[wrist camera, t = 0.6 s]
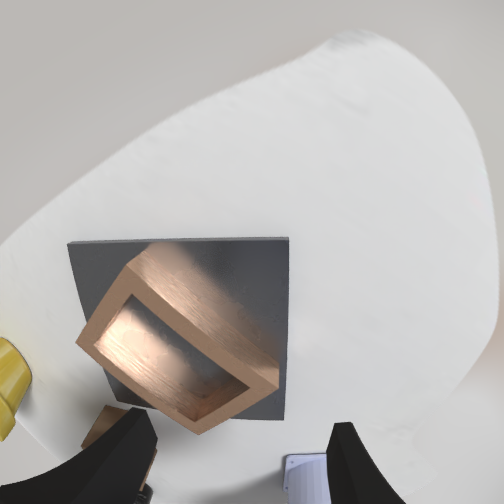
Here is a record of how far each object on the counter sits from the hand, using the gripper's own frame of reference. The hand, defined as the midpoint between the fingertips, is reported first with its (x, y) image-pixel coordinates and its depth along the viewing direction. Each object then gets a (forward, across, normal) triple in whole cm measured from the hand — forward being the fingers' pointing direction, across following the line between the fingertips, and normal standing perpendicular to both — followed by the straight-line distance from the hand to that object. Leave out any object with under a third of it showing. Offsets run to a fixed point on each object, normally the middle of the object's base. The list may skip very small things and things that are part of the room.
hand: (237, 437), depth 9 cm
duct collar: (+9, +6, +2) cm, 11 cm away
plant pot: (+10, +29, +10) cm, 32 cm away
